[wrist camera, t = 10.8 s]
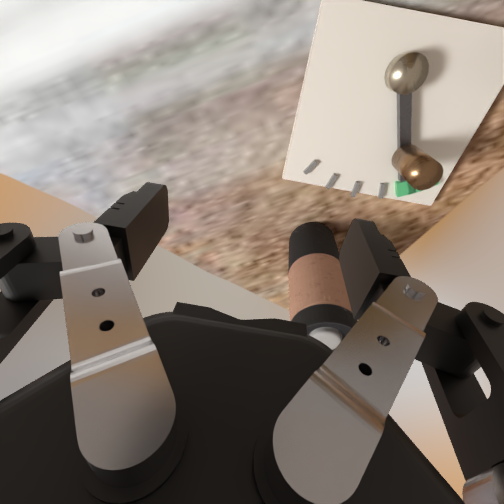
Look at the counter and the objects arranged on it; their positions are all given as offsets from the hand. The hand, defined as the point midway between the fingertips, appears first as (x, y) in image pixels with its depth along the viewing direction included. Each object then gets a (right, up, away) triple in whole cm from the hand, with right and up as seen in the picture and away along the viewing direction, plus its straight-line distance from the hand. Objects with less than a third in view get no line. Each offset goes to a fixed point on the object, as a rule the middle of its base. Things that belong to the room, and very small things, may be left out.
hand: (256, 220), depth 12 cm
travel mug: (+10, +1, +33) cm, 35 cm away
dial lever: (+17, +14, +20) cm, 30 cm away
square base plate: (+16, +15, +22) cm, 31 cm away
